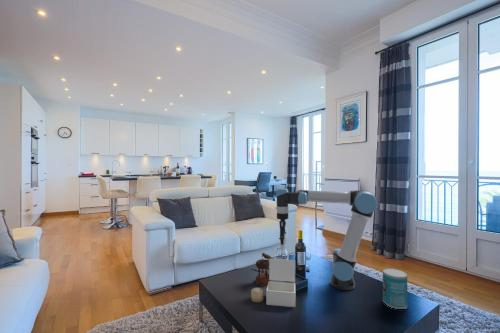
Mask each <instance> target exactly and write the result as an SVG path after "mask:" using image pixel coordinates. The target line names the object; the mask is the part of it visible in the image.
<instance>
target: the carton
mask: <svg viewBox="0 0 500 333" xmlns="http://www.w3.org/2000/svg"><path fill="white" fill-rule="evenodd" d="M265 292H266V294H265V295H266V296H265V297H266V299H265V300H266V301H265V303H266V305H267V306H277V307H286V308H296V282H289V281H276V280H271V281H269V282H268V286H266V291H265Z"/></svg>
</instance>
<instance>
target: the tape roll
mask: <svg viewBox="0 0 500 333" xmlns="http://www.w3.org/2000/svg"><path fill="white" fill-rule="evenodd" d="M250 290H251V291H250V293H251V295H250V299H251V302H253V303H261V302H263V301H264V290H263V288H261V287H253V288H252V289H250Z"/></svg>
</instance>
